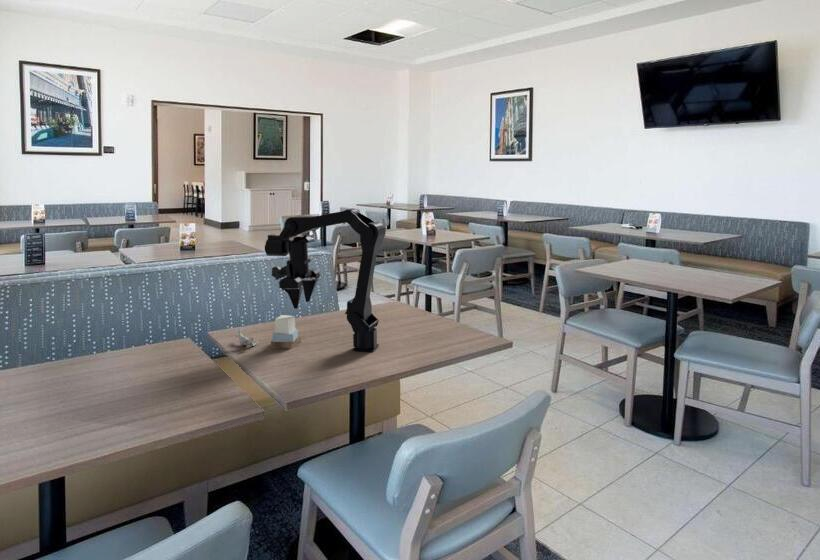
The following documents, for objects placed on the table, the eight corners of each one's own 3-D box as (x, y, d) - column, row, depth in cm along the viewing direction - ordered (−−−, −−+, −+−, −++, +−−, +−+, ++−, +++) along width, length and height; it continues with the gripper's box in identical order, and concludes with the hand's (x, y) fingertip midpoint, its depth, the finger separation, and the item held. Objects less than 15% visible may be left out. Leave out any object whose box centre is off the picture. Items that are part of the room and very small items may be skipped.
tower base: (301, 343, 188) (300, 336, 187) (291, 350, 181) (291, 342, 181) (281, 342, 190) (281, 335, 189) (271, 348, 183) (270, 341, 183)
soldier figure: (253, 342, 192) (266, 339, 182) (244, 354, 190) (258, 351, 180) (234, 328, 189) (247, 324, 180) (225, 340, 187) (237, 337, 177)
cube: (295, 329, 186) (294, 316, 185) (288, 333, 182) (288, 320, 181) (282, 328, 187) (282, 315, 186) (275, 332, 183) (275, 318, 182)
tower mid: (297, 335, 188) (297, 328, 188) (293, 342, 182) (293, 334, 181) (277, 335, 188) (277, 328, 188) (272, 341, 182) (272, 334, 181)
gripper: (287, 252, 192) (290, 298, 195) (261, 261, 175) (265, 311, 177) (319, 252, 190) (322, 298, 193) (295, 261, 172) (298, 312, 175)
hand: (301, 305), depth 185 cm, fingers open, 9 cm apart
